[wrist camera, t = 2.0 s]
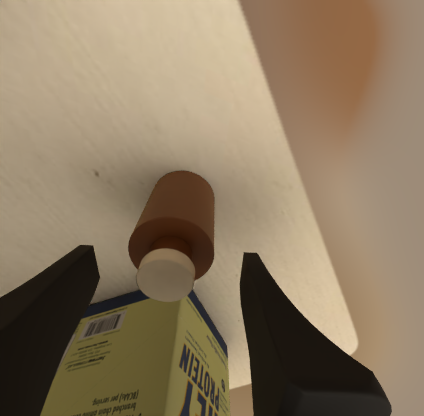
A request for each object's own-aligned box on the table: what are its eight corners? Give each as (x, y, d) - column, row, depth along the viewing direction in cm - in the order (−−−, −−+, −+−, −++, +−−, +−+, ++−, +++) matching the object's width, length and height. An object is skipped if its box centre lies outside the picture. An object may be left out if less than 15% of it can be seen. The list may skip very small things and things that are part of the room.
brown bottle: (212, 226, 20) (211, 317, 13) (154, 224, 20) (121, 313, 13) (216, 172, 18) (216, 244, 11) (150, 169, 18) (108, 239, 11)
